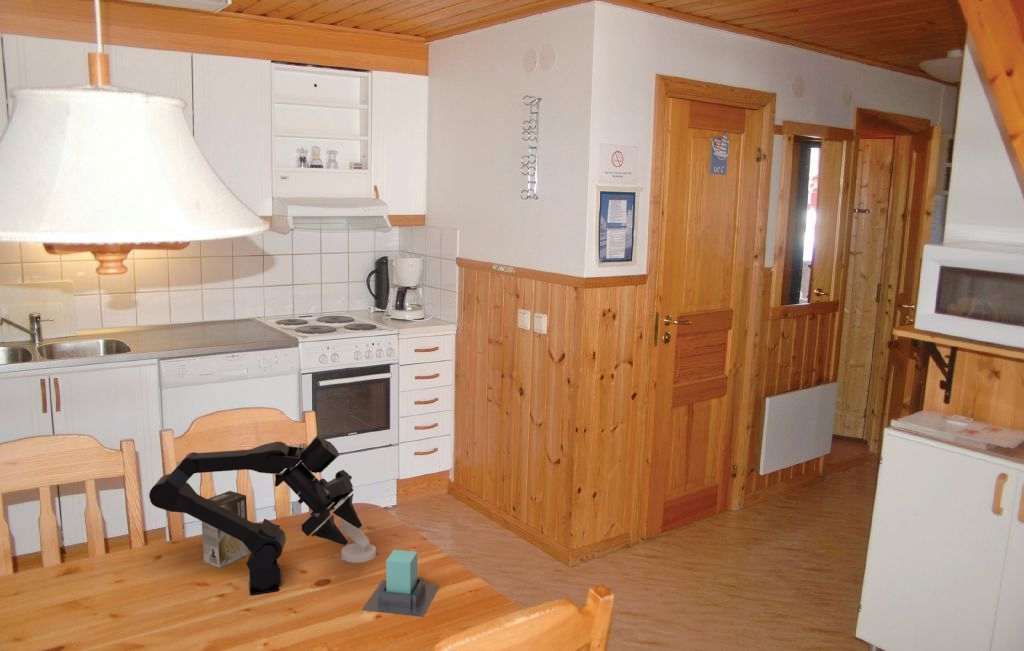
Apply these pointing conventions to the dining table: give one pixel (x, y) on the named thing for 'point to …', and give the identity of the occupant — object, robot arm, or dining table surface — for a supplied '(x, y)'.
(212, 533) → the coffee box
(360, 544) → the wall hook
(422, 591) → the socket holder
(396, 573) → the teal block
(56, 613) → the dining table surface
